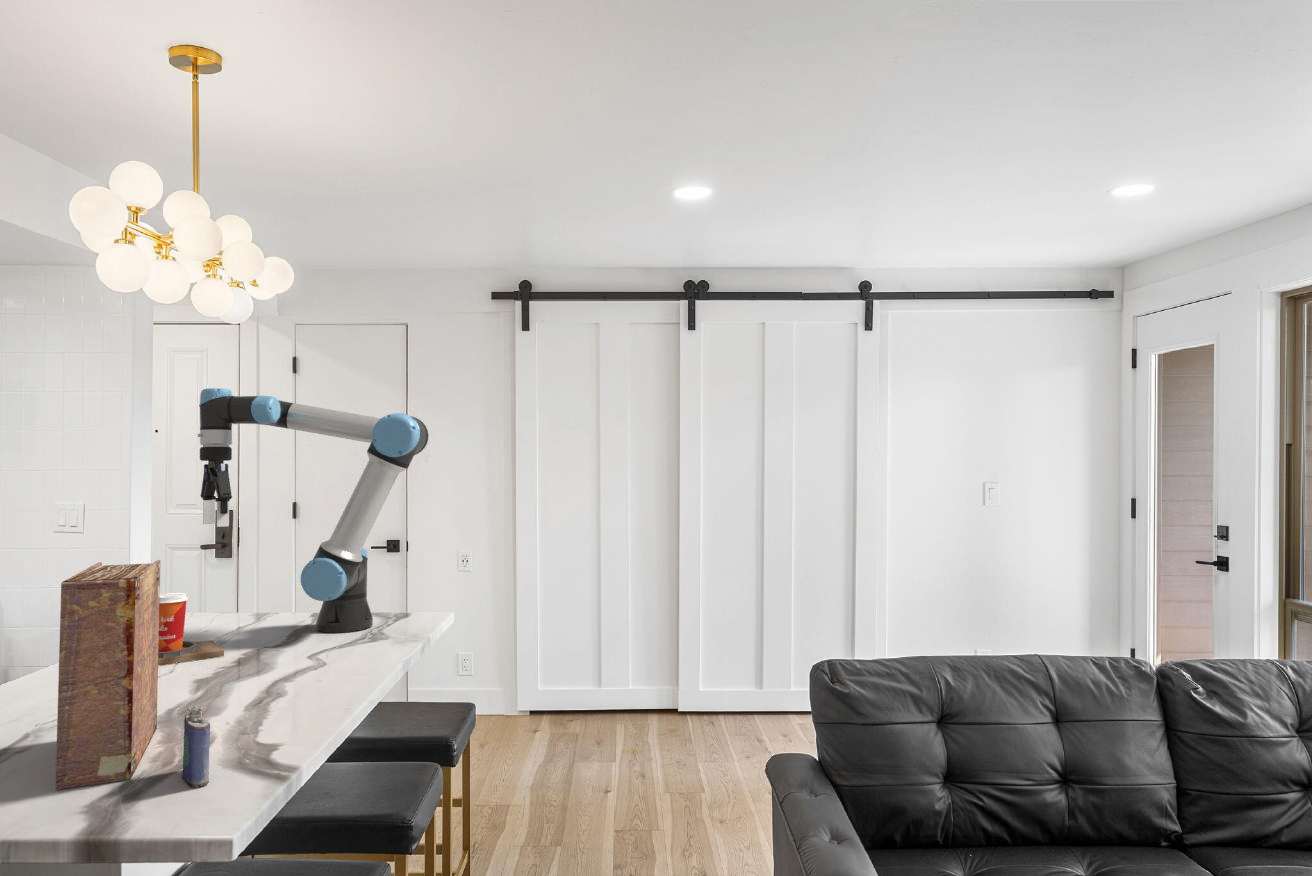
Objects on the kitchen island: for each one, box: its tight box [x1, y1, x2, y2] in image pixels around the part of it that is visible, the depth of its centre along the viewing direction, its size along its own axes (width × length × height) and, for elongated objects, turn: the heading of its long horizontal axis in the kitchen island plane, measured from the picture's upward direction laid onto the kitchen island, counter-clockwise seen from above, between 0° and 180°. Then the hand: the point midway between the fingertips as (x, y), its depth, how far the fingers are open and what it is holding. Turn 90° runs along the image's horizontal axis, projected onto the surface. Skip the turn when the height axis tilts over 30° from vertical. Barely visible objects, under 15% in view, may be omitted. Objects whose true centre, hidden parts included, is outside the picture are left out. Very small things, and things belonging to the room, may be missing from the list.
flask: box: [181, 705, 211, 789], centre depth 117 cm, size 9×3×11 cm, turn 39°
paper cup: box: [158, 592, 189, 652], centre depth 187 cm, size 8×8×14 cm
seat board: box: [158, 639, 225, 666], centre depth 188 cm, size 22×14×3 cm, turn 131°
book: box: [55, 559, 161, 791], centre depth 126 cm, size 25×9×30 cm, turn 25°
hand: (215, 525), depth 209 cm, fingers open, 13 cm apart
